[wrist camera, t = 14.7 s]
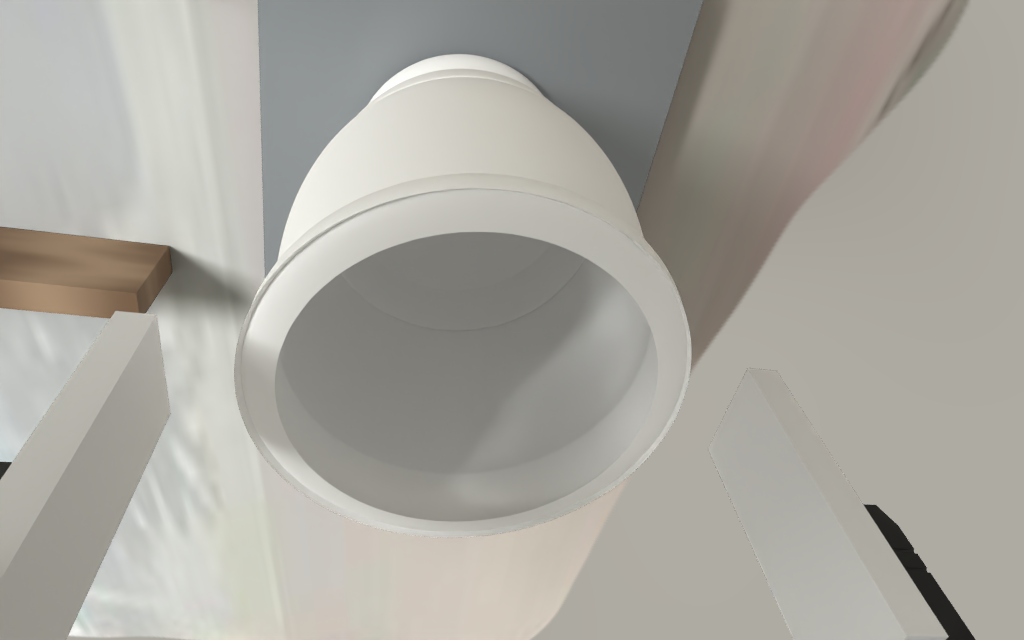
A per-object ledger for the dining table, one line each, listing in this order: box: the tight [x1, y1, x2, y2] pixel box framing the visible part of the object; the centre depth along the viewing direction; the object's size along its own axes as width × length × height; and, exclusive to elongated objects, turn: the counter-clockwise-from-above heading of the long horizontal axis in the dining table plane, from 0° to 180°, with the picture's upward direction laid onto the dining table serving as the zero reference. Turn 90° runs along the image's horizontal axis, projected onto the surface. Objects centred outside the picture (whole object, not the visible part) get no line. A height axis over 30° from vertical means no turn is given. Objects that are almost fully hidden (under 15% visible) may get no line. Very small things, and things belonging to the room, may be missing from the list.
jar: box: [234, 54, 692, 538], centre depth 21 cm, size 11×10×15 cm
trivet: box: [258, 0, 703, 278], centre depth 28 cm, size 16×16×2 cm
